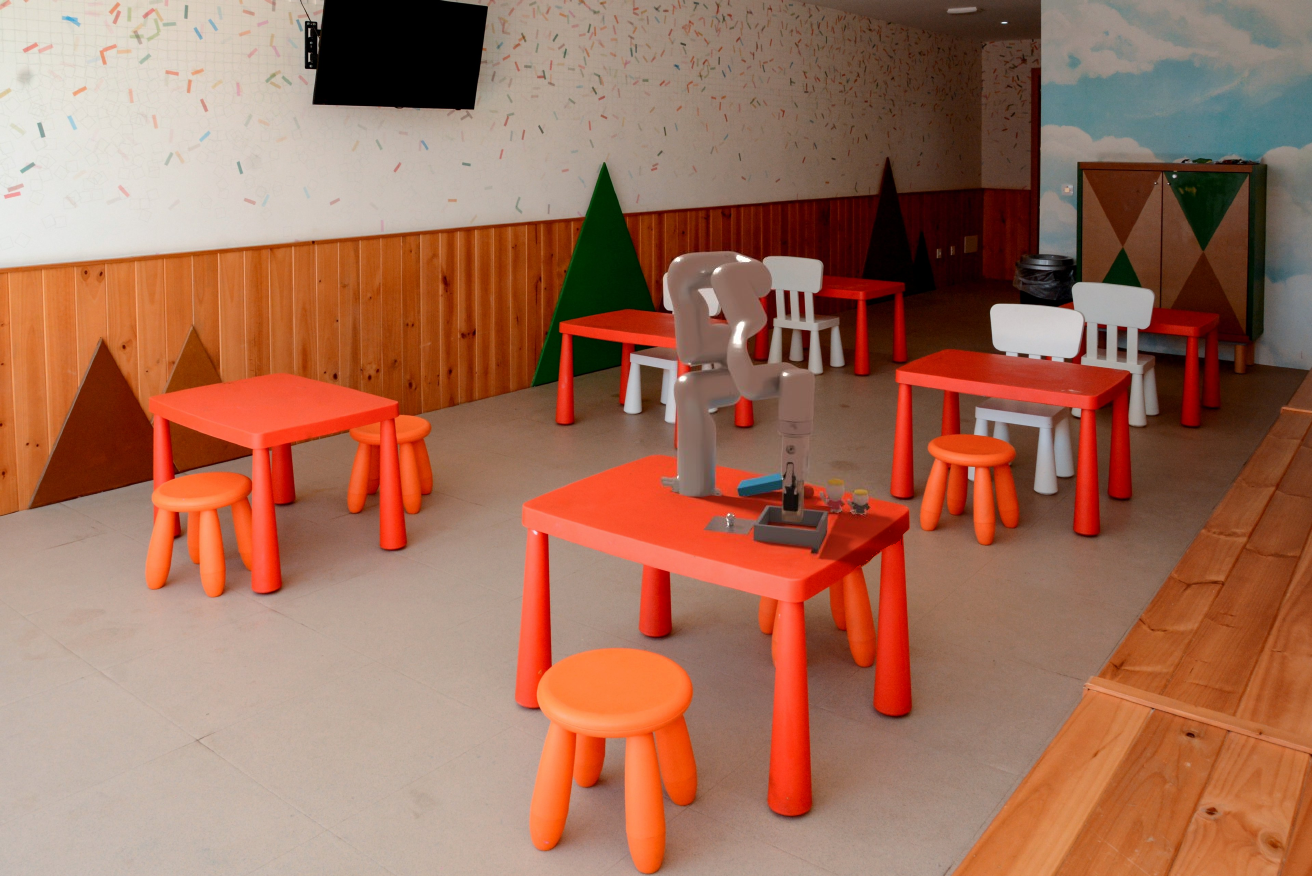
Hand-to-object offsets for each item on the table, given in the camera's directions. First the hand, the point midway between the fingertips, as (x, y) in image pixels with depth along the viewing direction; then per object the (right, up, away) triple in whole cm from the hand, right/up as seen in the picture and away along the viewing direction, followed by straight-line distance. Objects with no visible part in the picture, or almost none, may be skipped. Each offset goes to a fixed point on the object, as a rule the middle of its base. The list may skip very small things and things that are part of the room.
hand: (792, 506), depth 233 cm
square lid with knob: (-13, -6, +7) cm, 16 cm away
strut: (0, -3, +1) cm, 3 cm away
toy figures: (+15, -3, +20) cm, 25 cm away
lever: (0, 0, +33) cm, 33 cm away
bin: (0, -7, +2) cm, 8 cm away
